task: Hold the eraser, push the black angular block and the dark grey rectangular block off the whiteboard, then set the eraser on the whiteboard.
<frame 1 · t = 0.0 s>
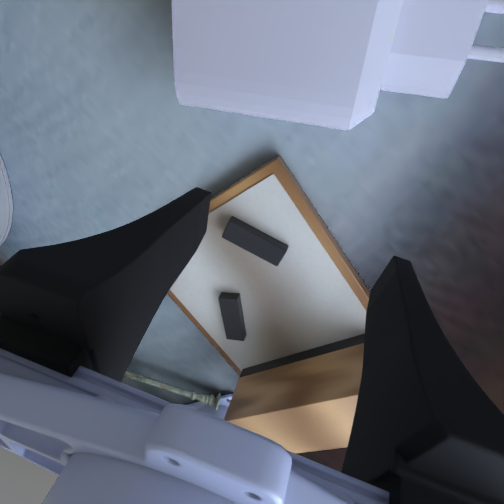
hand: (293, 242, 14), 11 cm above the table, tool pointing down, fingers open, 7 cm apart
eraser: (316, 371, 31), point 1 cm above the table, touching whiteboard
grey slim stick: (130, 358, 40), on the table, touching arm
black angular block 1: (234, 313, 30), point 1 cm above the table, touching whiteboard
whiteboard: (272, 303, 30), on the table
charger: (348, 15, 19), on the table
dark grey rectangular block 2: (256, 238, 26), point 1 cm above the table, touching whiteboard
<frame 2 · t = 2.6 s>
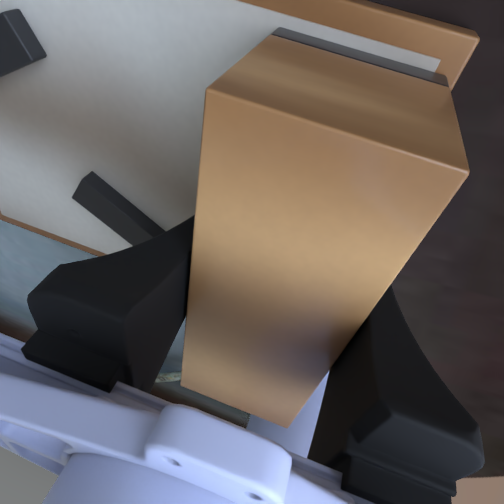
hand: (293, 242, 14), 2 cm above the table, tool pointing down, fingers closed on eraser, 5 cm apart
eraser: (300, 220, 15), point 1 cm above the table, touching gripper, whiteboard
black angular block 1: (125, 211, 18), point 1 cm above the table, touching whiteboard
whiteboard: (153, 155, 16), on the table
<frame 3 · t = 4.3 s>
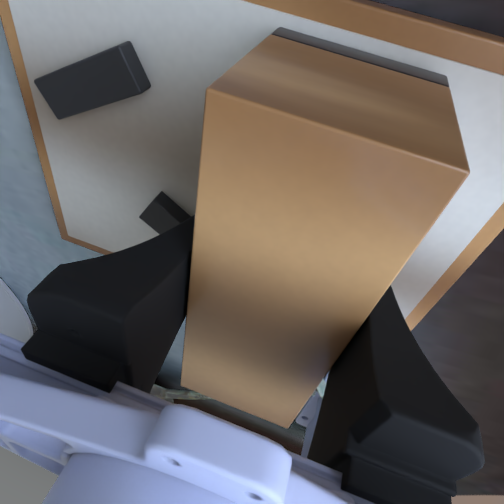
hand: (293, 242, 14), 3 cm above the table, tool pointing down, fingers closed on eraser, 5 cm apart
eraser: (300, 220, 15), point 1 cm above the table, touching gripper
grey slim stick: (205, 375, 30), on the table, touching arm
black angular block 1: (190, 230, 18), point 1 cm above the table, touching whiteboard
whiteboard: (240, 181, 16), on the table
dark grey rectangular block 2: (97, 80, 14), point 1 cm above the table, touching whiteboard
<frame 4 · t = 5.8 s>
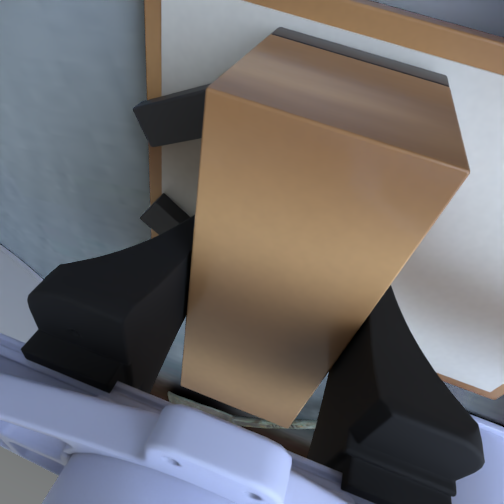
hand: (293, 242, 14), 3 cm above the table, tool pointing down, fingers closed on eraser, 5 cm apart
eraser: (300, 220, 15), point 1 cm above the table, touching gripper, black angular block 1
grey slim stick: (273, 402, 29), on the table, touching arm
black angular block 1: (191, 232, 18), point 1 cm above the table, touching eraser
whiteboard: (370, 225, 16), on the table
dark grey rectangular block 2: (199, 110, 13), point 1 cm above the table, touching whiteboard
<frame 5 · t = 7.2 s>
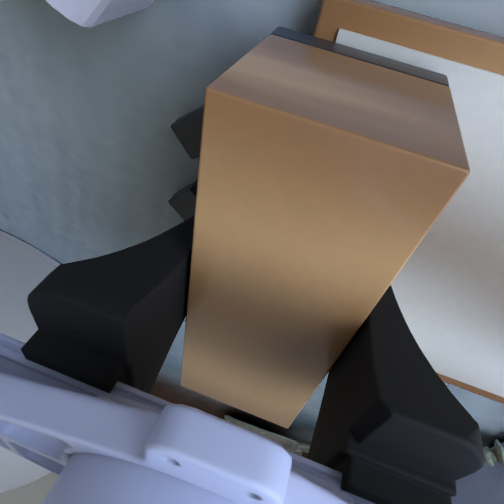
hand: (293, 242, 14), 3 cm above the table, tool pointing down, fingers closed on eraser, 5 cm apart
eraser: (300, 220, 15), point 1 cm above the table, touching gripper
kettle: (23, 307, 32), on the table
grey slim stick: (339, 428, 29), on the table, touching arm
black angular block 1: (214, 221, 18), on the table
whiteboard: (501, 269, 15), on the table
dark grey rectangular block 2: (230, 115, 14), on the table
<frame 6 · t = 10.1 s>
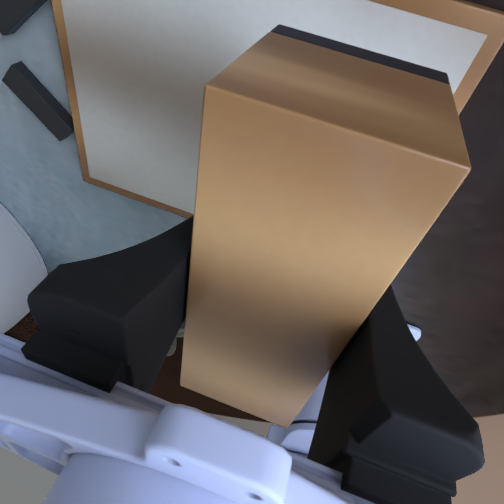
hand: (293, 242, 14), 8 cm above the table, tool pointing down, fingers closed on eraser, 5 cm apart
eraser: (300, 219, 15), point 6 cm above the table, touching gripper
black angular block 1: (46, 101, 23), on the table
whiteboard: (236, 119, 20), on the table
when the fingers open (2 cm above the table, at t = 12.2 s): eraser stays where it is, resting on whiteboard.
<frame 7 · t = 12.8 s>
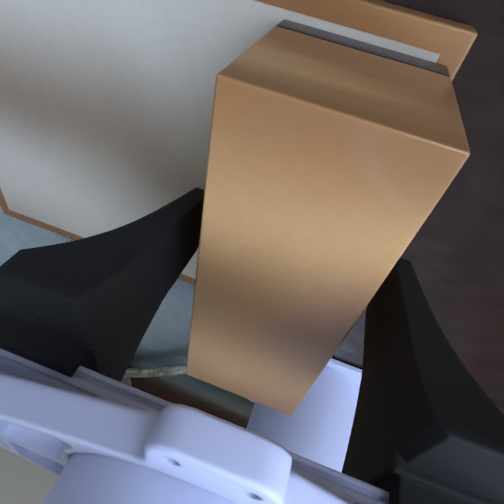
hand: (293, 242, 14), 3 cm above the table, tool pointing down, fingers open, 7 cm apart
eraser: (303, 211, 15), point 1 cm above the table, touching whiteboard
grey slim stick: (160, 354, 31), on the table, touching arm
whiteboard: (158, 149, 17), on the table
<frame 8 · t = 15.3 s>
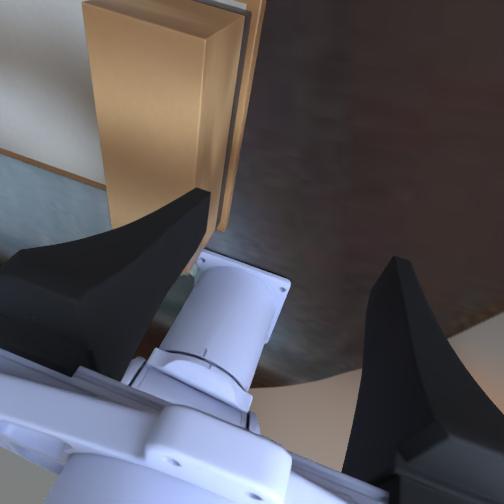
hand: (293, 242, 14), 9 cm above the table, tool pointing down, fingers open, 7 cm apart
eraser: (193, 126, 22), point 1 cm above the table, touching whiteboard
whiteboard: (95, 86, 23), on the table
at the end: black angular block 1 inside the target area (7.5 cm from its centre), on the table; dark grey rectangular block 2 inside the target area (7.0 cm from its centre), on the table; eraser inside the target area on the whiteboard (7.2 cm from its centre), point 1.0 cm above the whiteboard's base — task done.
